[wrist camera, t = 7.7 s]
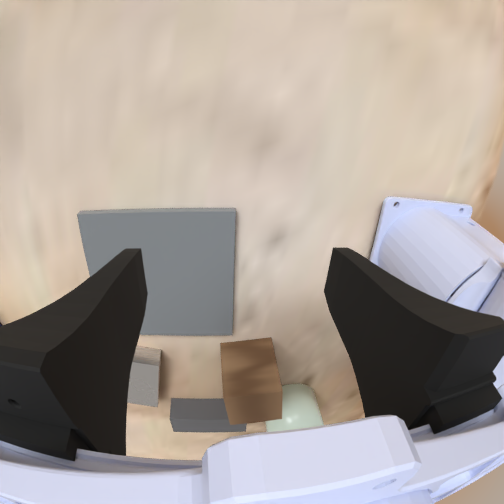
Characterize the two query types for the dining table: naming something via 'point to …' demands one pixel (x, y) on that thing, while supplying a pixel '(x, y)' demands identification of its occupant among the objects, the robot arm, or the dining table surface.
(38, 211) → the dining table surface
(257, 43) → the dining table surface
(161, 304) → the slate coaster
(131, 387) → the grey topped wooden block
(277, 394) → the walnut block
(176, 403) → the charcoal rubber bar
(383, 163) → the dining table surface
